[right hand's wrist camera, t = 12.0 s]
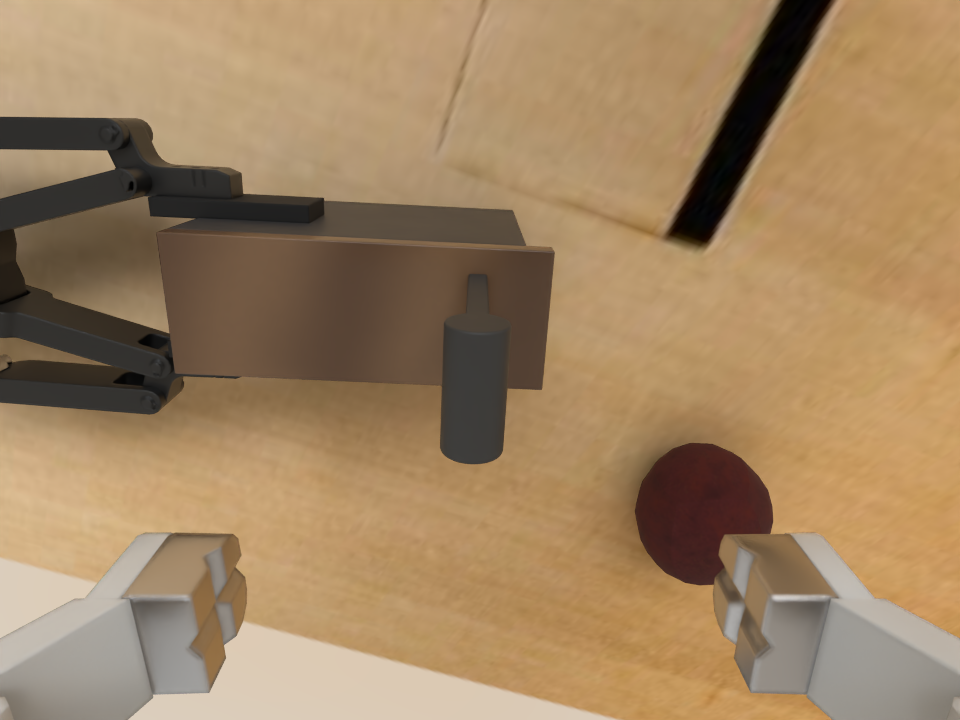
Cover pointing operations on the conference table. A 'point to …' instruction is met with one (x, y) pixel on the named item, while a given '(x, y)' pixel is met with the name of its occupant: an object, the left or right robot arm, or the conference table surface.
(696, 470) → the potato
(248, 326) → the lid
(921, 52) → the conference table surface
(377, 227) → the chest
